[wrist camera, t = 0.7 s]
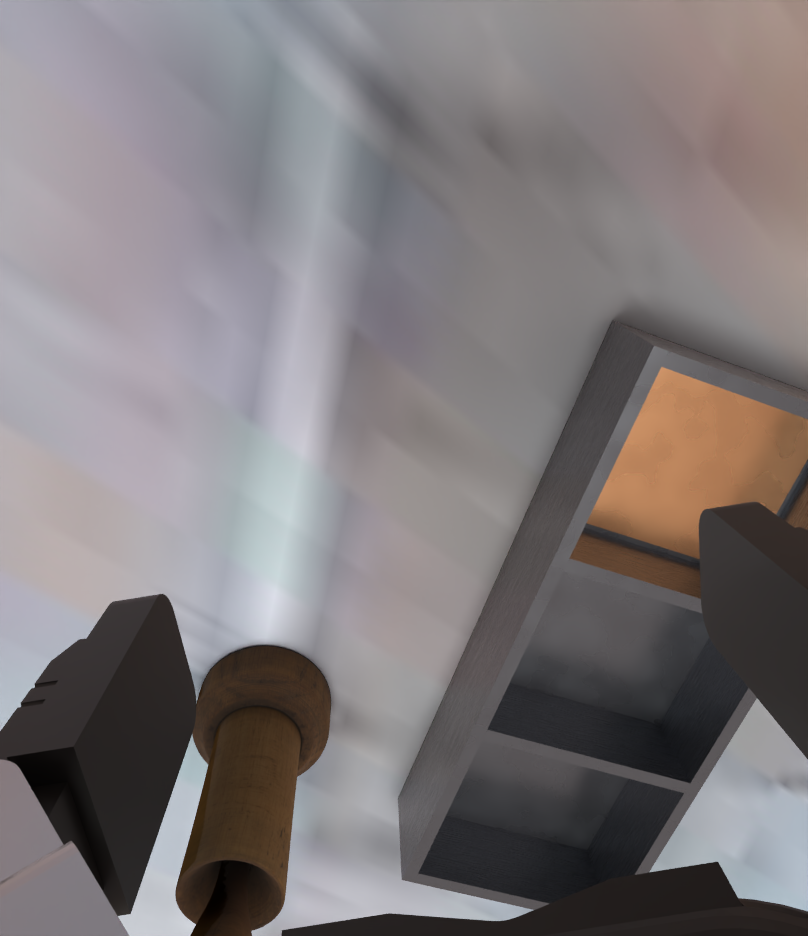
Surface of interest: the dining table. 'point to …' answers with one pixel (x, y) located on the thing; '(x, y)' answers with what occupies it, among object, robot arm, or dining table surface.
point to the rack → (603, 635)
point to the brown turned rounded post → (249, 785)
